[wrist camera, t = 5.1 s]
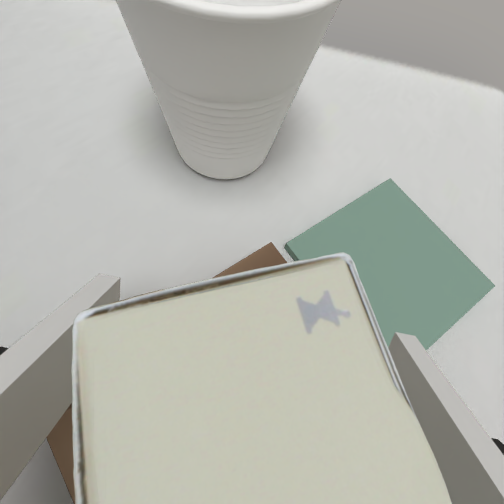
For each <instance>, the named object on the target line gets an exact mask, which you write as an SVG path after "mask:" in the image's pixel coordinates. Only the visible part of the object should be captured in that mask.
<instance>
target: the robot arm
mask: <svg viewBox="0 0 504 504" xmlns="http://www.w3.org/2000/svg"><path fill="white" fill-rule="evenodd" d="M119 297H120V278H119V277H114V276H109V275H104V274H98V275H97V276H96V277H94V278H93V279H92V280H91V281H90V282H88V283H87V284H86V285H85V286H84V287H82V288H81V289H80V290H79V291H78V292H76V293H75V294H74V295H73V296H71V297H70V298H69V299H68V300H67V301H65V302H64V303H63V304H62V305H61V306H59V307H58V308H57V309H56V310H55V311H53V312H52V313H51V314H50V315H48V316H47V317H46V318H45V319H44V320H42V321H41V322H40V323H39V324H38V325H36V326H35V327H34V328H33V329H32V330H30V331H29V332H28V333H27V334H26V335H24V336H23V337H22V338H21V339H19V340H18V341H17V342H16V343H15V344H13V345H12V346H11V347H10V348H4V347H0V500H1V499H2V498H3V496H4V495H5V494H6V492H7V491H8V489H9V488H10V487H11V485H12V484H13V483H14V481H15V480H16V478H17V477H18V476H19V474H20V473H21V472H22V470H23V469H24V467H25V466H26V465H27V463H28V462H29V461H30V459H31V458H32V457H33V455H34V454H35V452H36V451H37V450H38V448H39V447H40V446H41V444H42V443H43V441H44V440H45V439H46V437H47V436H48V435H49V433H50V432H51V430H52V429H53V428H54V426H55V425H56V424H57V422H58V421H59V419H60V418H61V417H62V415H63V414H64V413H65V411H66V410H67V408H68V407H69V406H70V404H71V403H72V371H71V367H72V327H73V322H74V319H75V318H76V316H77V315H78V313H80V312H82V311H84V310H87V309H89V308H93V307H97V306H101V305H105V304H109V303H113V302H117V301H119ZM388 349H389V351H390V354H391V356H392V359H393V361H394V364H395V366H396V369H397V371H398V374H399V376H400V379H401V381H402V384H403V386H404V389H405V391H406V394H407V396H408V399H409V401H410V404H411V406H412V408H413V410H414V412H415V415H416V417H417V419H418V421H419V423H420V426H421V428H422V430H423V432H424V434H425V437H426V439H427V441H428V443H429V445H430V447H431V450H432V452H433V454H434V456H435V458H436V461H437V464H438V466H439V469H440V471H441V474H442V476H443V479H444V481H445V484H446V487H447V490H448V493H449V496H450V499H451V502H452V504H504V444H502V443H501V442H500V441H499V440H498V439H493V438H490V436H489V435H488V434H487V432H486V431H485V429H484V428H483V427H482V425H481V424H480V423H479V421H478V420H477V419H476V417H475V416H474V415H473V413H472V412H471V411H470V409H469V408H468V407H467V405H466V404H465V402H464V401H463V400H462V398H461V397H460V396H459V394H458V393H457V392H456V390H455V389H454V388H453V386H452V385H451V384H450V382H449V381H448V379H447V378H446V377H445V375H444V374H443V373H442V371H441V370H440V369H439V367H438V366H437V365H436V363H435V362H434V361H433V359H432V358H431V357H430V355H429V354H428V352H427V351H426V350H425V348H424V347H423V346H422V344H421V343H420V342H419V340H418V339H417V338H416V336H413V335H408V334H403V333H398V332H395V334H394V336H393V338H392V340H391V343H390V345H389V347H388Z"/></svg>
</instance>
